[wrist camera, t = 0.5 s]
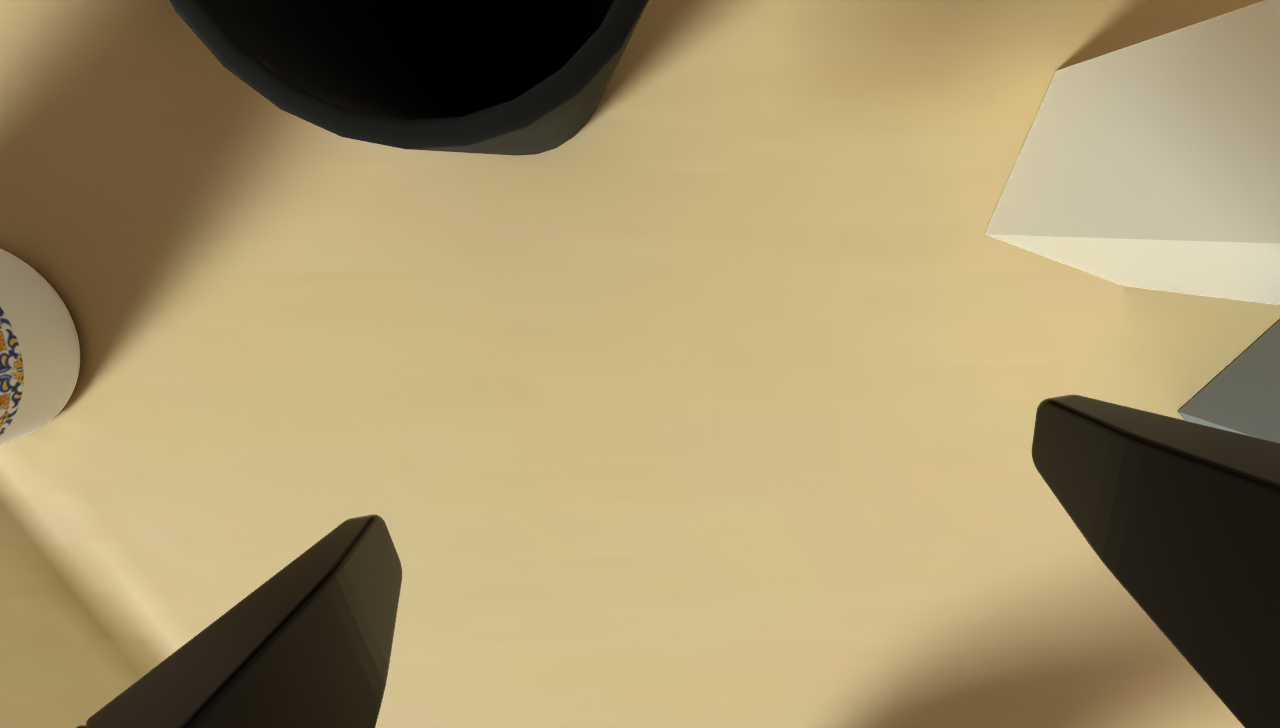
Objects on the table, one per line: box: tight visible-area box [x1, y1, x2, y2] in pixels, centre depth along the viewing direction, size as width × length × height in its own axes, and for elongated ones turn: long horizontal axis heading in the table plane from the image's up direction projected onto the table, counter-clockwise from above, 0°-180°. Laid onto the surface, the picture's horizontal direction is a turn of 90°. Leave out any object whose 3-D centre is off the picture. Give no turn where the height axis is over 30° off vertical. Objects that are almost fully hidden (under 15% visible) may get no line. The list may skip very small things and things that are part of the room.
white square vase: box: [985, 0, 1280, 305], centre depth 16 cm, size 6×6×12 cm
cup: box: [170, 0, 648, 155], centre depth 15 cm, size 8×8×12 cm
